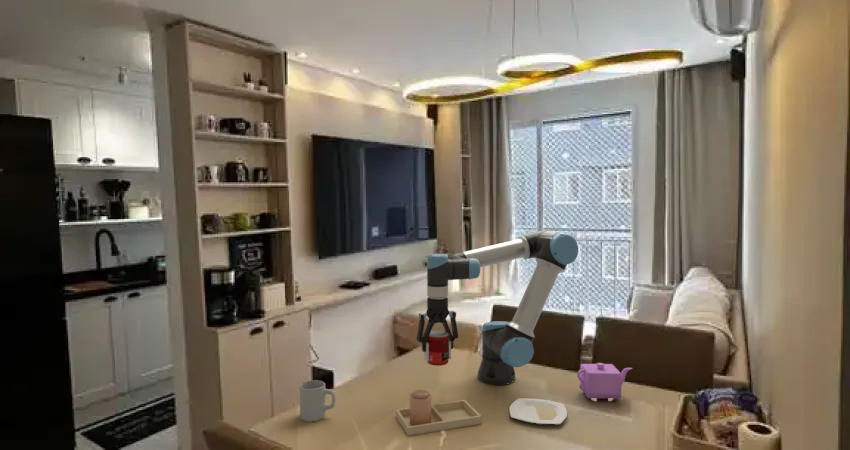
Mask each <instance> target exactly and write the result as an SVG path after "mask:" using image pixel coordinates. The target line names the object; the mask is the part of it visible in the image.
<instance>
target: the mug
mask: <svg viewBox="0 0 850 450" xmlns="http://www.w3.org/2000/svg"><path fill="white" fill-rule="evenodd" d="M326 395H331V399H332V400H331V401H332V402H331V404H327V401H326ZM335 406H336V394H335V392H334V390H332V389H329V388H326V383H325V382H324V381H323V380H318V379H314V380H313V379H312V380H306V381H304V382H301V383H300V385H299V417H300V419H301V421H303V422H309V423H310V422H312V421H314V422H318V420H319V421H321V420H323V419H324V418H325V417H326V415H327V410H328V411H329V410H333V408H334V407H335ZM312 423H313V422H312Z"/></svg>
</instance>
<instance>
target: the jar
mask: <svg viewBox="0 0 850 450" xmlns="http://www.w3.org/2000/svg"><path fill="white" fill-rule="evenodd" d="M431 404H432V394H431V393H430V392H429V391H427V390H424V389H417V390H414V391H412V393H410V394H409V408H410V424H411V425H412V426H416V425H422V424H428V423H431Z"/></svg>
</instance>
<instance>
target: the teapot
mask: <svg viewBox="0 0 850 450" xmlns="http://www.w3.org/2000/svg"><path fill="white" fill-rule="evenodd" d="M632 369H633V367H625V368H623V369H622V371H621V372H620V371H619V369H618V368H617V367H616V366H615V365H614V364H613V363H603V362H597V363H580V369H579V370H578V371H577V373H576V377H577V378H578V380H579V383H580V384H579V385H578V388H579V389H580V390H581V391H582V390H583V391H582V392H583V394H584V393H585V394H584V395H585V396H587V397H586V398H587V399H591V398H598V399H606V398H621V399H622V385H623V384H624V383H625V382H624V381H625V380H626V376H627V374H628V372H629V371H631V370H632Z"/></svg>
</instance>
